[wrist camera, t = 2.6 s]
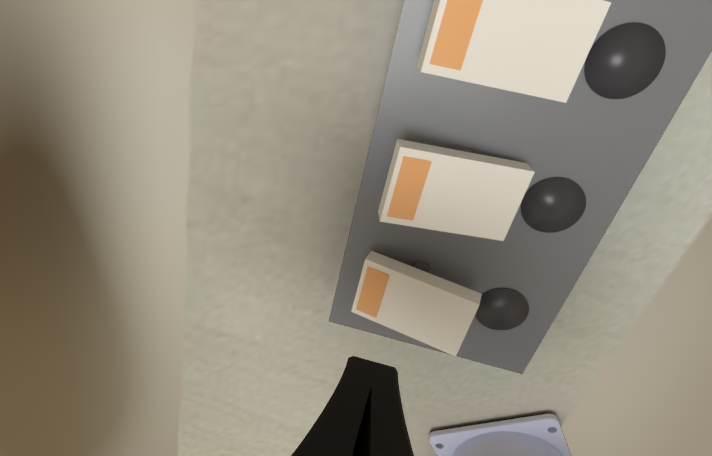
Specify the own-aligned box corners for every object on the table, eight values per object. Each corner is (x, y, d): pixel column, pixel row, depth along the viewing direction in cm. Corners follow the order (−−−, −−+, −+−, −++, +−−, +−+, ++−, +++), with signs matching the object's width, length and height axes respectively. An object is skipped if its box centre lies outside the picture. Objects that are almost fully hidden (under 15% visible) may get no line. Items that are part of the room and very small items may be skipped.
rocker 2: (497, 230, 18) (504, 242, 17) (377, 211, 17) (380, 222, 16) (526, 163, 16) (535, 172, 15) (397, 138, 16) (400, 147, 15)
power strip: (514, 339, 24) (523, 382, 21) (338, 291, 24) (326, 328, 22) (872, -324, 12) (1000, -415, 9) (503, -401, 12) (522, -509, 9)
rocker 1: (555, 96, 15) (566, 103, 14) (416, 66, 14) (420, 72, 14) (597, 0, 13) (612, 2, 13) (444, -38, 13) (451, -39, 12)
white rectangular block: (458, 345, 20) (455, 357, 19) (357, 302, 21) (350, 312, 20) (481, 293, 18) (479, 305, 17) (371, 250, 19) (364, 259, 18)
